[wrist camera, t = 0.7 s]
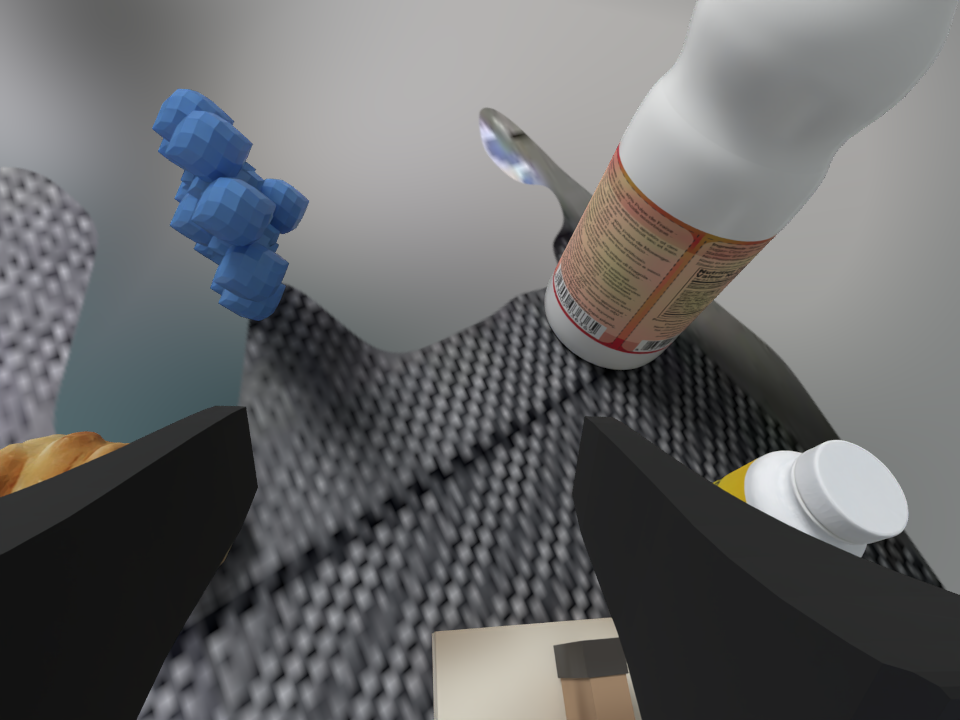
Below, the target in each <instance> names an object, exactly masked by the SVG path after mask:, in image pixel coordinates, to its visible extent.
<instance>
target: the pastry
mask: <svg viewBox="0 0 960 720" xmlns="http://www.w3.org/2000/svg"><path fill="white" fill-rule="evenodd" d="M127 444H129V443H127ZM127 444H123V443H113V442H108V441H105V440H104V439H102V437H101V436H100V435H99V434H97V433H94V432H78V433H72V434H68V435H62V434H56V435H50V436H47V437H42V438H37V439H31V440H28V441H26V442H24V443H19V444H12V445H8V446H7V447H5V448H3V449H1V450H0V497H2V496H5V495H8V494H11V493H13V492H16V491H19V490H21V489H24V488H26V487H29V486H32V485H34V484H37V483H39V482H42V481H44V480H47V479H49V478H52V477H54V476H56V475H59V474H61V473H63V472H66V471H68V470H70V469H73V468H75V467H77V466H80V465H82V464H84V463H87V462H89V461H91V460H94V459H96V458H98V457H100V456H103V455H105V454H107V453H110V452H112V451H114V450H117V449H119V448H121V447H123V446H125V445H127ZM231 546H232V545H231ZM230 548H231V547H230ZM229 550H230V549H229ZM229 550H228V552H229ZM228 552H227V554H228ZM227 554H226V555H225V557H224V559H223V561H222V562H221V564H222V563H223V562H224V561H225V559H226V557H227ZM221 564H220V565H221Z"/></svg>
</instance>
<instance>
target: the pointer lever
mask: <svg viewBox="0 0 960 720" xmlns="http://www.w3.org/2000/svg"><path fill="white" fill-rule="evenodd" d="M553 647H554V654H555V661H556V668H557V675H558V678H561V684H562V691H563V698H564V705H565V712H566V719H567V720H635V715H634V710H633V705H632V701H631V696H630V691H629V686H628V682H627V677H626V674H628V673H629V672H628V667H627V662H626V658H625V655H624V651H623V648H622V645H621V642H620V639H619V637H617V638H606V639H595V640H584V641H577V642H571V643H565V644H559V645H553Z"/></svg>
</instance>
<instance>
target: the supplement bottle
mask: <svg viewBox="0 0 960 720" xmlns="http://www.w3.org/2000/svg"><path fill="white" fill-rule="evenodd" d="M713 484H715V485H717V486H718V487H720V488H721V489H723V490H725V491H726V492H728V493H730V494H731V495H733V496H735V497H737V498H738V499H740V500H742V501H744V502H746V503H747V504H749V505H751V506H753V507H755V508H757V509H759V510H761V511H763V512H764V513H766V514H768V515H770V516H772V517H774V518H776V519H778V520H780V521H782V522H784V523H786V524H788V525H790V526H792V527H794V528H796V529H798V530H800V531H802V532H804V533H806V534H809V535H811V536H813V537H815V538H817V539H820V540H822V541H824V542H826V543H829V544H831V545H833V546H836V547H838V548H840V549H842V550H845V551H847V552H849V553H851V554H854V555H856V556H858V557H862V555H863V553H864V551H865V549H866V546H867V544H869V543H873V542H877V541H880V540H884V539H887V538H891V537H894V536H896V535H898V534H900V533H901V532H902V531H903V530H904V529H905V527H906V525H907V522H908V515H909V511H908V505H907V501H906V498H905V495H904V493H903V491H902V488H901V487H900V485H899V483H898V482H897V480H896V478H895V477H894V476H893V474H892V473H891V472H890V471H889V469H888V468H887V467H886V466H885V465H884V464H883V463H882V462H881V461H880V460H879V459H877V458H876V457H875V456H874V455H872V454H871V453H870V452H868V451H867V450H865V449H864V448H862V447H860V446H858V445H855V444H853V443H850V442H847V441H843V440H831V441H827V442H824V443H822V444H820V445H818V446H816V447H814V448H812V449H809V450H807V451H805V452H804V453H799V452H794V451H776V452H771V453H768V454H766V455H764V456H762V457H760V458H757V459H755V460H754V461H752V462H750V463H748V464H747V465H744V466H742V467H741V468H739V469H737V470H735V471H733V472H732V473H730V474H728V475H726V476H725V477H723V478H721V479H719V480H717V481H716V482H714V483H713Z"/></svg>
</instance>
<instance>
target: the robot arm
mask: <svg viewBox="0 0 960 720" xmlns="http://www.w3.org/2000/svg"><path fill="white" fill-rule="evenodd" d="M257 488H258V485H257V478H256V471H255V465H254V458H253V451H252V444H251V438H250V431H249V424H248V417H247V410H246V407H241V406H214V407H211V408H208V409H205V410H202V411H200V412H197V413H195V414H193V415H190V416H188V417H186V418H184V419H181V420H179V421H177V422H175V423H173V424H170V425H168V426H166V427H164V428H162V429H160V430H157V431H155V432H153V433H151V434H149V435H147V436H145V437H142V438H140V439H138V440H136V441H134V442H132V443H129V444H127V445H125V446H123V447H121V448H119V449H117V450H114V451H112V452H110V453H107V454H105V455H103V456H100V457H98V458H96V459H94V460H91V461H89V462H87V463H84V464H82V465H80V466H77V467H75V468H73V469H70V470H68V471H66V472H63V473H61V474H59V475H56V476H54V477H52V478H49V479H47V480H44V481H42V482H39V483H37V484H34V485H32V486H29V487H26V488H24V489H21V490H19V491H16V492H13V493H11V494H8V495H5V496H2V497H0V720H137V717H138V715H139V713H140V711H141V709H142V707H143V705H144V703H145V700H146V698H147V696H148V694H149V692H150V690H151V688H152V686H153V684H154V681H155V679H156V677H157V675H158V673H159V671H160V669H161V667H162V665H163V663H164V660H165V658H166V657H167V655H168V653H169V651H170V649H171V647H172V646H173V644H174V642H175V640H176V638H177V636H178V635H179V633H180V631H181V629H182V628H183V626H184V624H185V623H186V621H187V619H188V618H189V616H190V614H191V613H192V611H193V609H194V608H195V606H196V604H197V603H198V601H199V599H200V597H201V596H202V594H203V592H204V591H205V589H206V587H207V586H208V584H209V582H210V581H211V579H212V577H213V576H214V574H215V572H216V571H217V569H218V567H219V566H220V564H221V562H222V561H223V559H224V557H225V555H226V554H227V552H228V550H229V549H230V547H231V545H232V543H233V542H234V540H235V538H236V536H237V535H238V533H239V531H240V529H241V527H242V525H243V522H244V520H245V518H246V516H247V513H248V511H249V508H250V506H251V503H252V501H253V498H254V496H255V493H256V491H257ZM572 494H573V499H574V504H575V509H576V513H577V518H578V522H579V526H580V531H581V535H582V537H583V540H584V543H585V546H586V549H587V552H588V554H589V557H590V560H591V563H592V565H593V568H594V571H595V574H596V576H597V579H598V582H599V584H600V587H601V590H602V592H603V595H604V598H605V600H606V603H607V606H608V609H609V611H610V614H611V617H612V619H613V622H614V625H615V627H616V630H617V633H618V636H619V639H620V642H621V645H622V648H623V651H624V655H625V658H626V662H627V665H628V669H629V673H630V677H631V681H632V684H633V688H634V692H635V696H636V700H637V703H638V707H639V711H640V715H641V719H642V720H960V595H958V594H955V593H952V592H950V591H947V590H944V589H942V588H939V587H936V586H933V585H931V584H928V583H925V582H923V581H920V580H917V579H915V578H912V577H909V576H906V575H904V574H901V573H898V572H896V571H893V570H891V569H888V568H886V567H883V566H881V565H878V564H876V563H873V562H871V561H868V560H866V559H863V558H861V557H858V556H856V555H854V554H851V553H849V552H847V551H845V550H842V549H840V548H838V547H836V546H833V545H831V544H829V543H826V542H824V541H822V540H820V539H817V538H815V537H813V536H811V535H809V534H806V533H804V532H802V531H800V530H798V529H796V528H794V527H792V526H790V525H788V524H786V523H784V522H782V521H780V520H778V519H776V518H774V517H772V516H770V515H768V514H766V513H764V512H763V511H761V510H759V509H757V508H755V507H753V506H751V505H749V504H747V503H746V502H744V501H742V500H740V499H738V498H737V497H735V496H733V495H731V494H730V493H728V492H726V491H725V490H723V489H721V488H720V487H718V486H717V485H715V484H713V483H712V482H710V481H708V480H707V479H705V478H703V477H702V476H700V475H699V474H697V473H696V472H694V471H693V470H691V469H689V468H688V467H686V466H685V465H683V464H682V463H680V462H679V461H677V460H676V459H674V458H673V457H671V456H670V455H668V454H667V453H666V452H664V451H663V450H661V449H660V448H658V447H657V446H655V445H654V444H653V443H651V442H650V441H648V440H647V439H645V438H644V437H642V436H641V435H640V434H638V433H637V432H635V431H634V430H632V429H631V428H629V427H628V426H626V425H625V424H623V423H622V422H620V421H618V420H616V419H615V418H613V417H589V416H585V418H584V424H583V430H582V436H581V442H580V449H579V455H578V461H577V467H576V473H575V480H574V486H573V492H572Z"/></svg>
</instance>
